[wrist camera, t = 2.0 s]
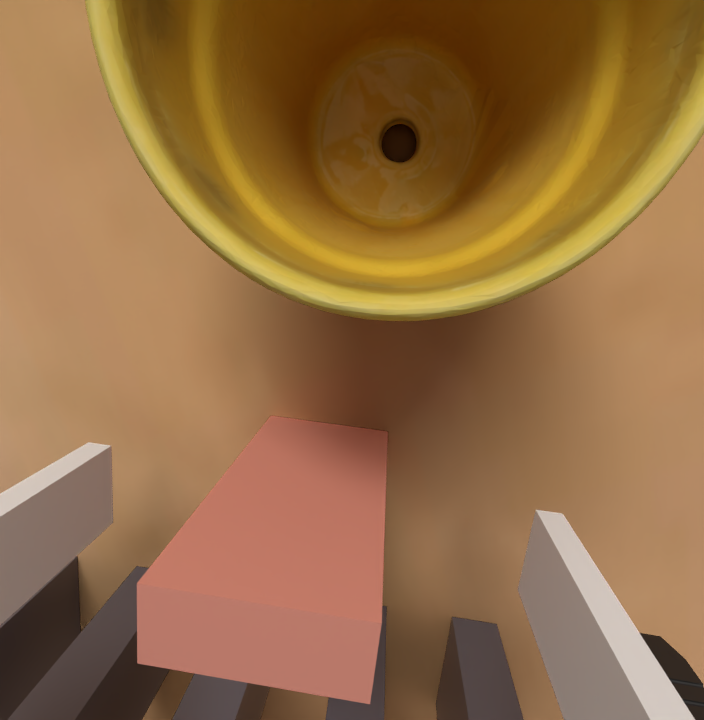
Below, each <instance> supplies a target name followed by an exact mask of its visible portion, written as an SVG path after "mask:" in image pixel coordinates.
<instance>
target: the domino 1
mask: <svg viewBox="0 0 704 720" xmlns="http://www.w3.org/2000/svg"><path fill="white" fill-rule="evenodd" d="M80 633H81V631H80V608H79V584H78V561H77V556H76V557H75V558H74V559H73V560H72V561H70V562H69V563H68V564H67V565H66V566H65V567H64V568H63V569H62V570H61V571H60V572H58V573H57V574H56V575H55V576H54V577H53V578H52V579H51V580H50V581H49V582H47V583H46V584H45V585H44V586H43V587H42V588H41V589H40V590H39V591H38V592H36V593H35V594H34V595H33V596H32V597H31V598H30V599H29V600H28V601H27V602H25V603H24V604H23V605H22V606H21V607H20V608H19V609H18V610H17V611H16V612H14V613H13V614H12V615H11V616H10V617H9V618H8V619H7V620H6V621H5V622H4V623H2V624H1V625H0V720H8V718H9V717H10V716H11V715H12V714H13V712H14V711H15V710H16V709H17V708H18V707H19V705H20V704H21V703H22V702H23V701H24V699H25V698H26V697H27V696H28V695H29V693H30V692H31V691H32V690H33V689H34V688H35V686H36V685H37V684H38V683H39V682H40V680H41V679H42V678H43V677H44V676H45V674H46V673H47V672H48V671H49V670H50V669H51V667H52V666H53V665H54V664H55V663H56V661H57V660H58V659H59V658H60V657H61V655H62V654H63V653H64V652H65V651H66V650H67V648H68V647H69V646H70V645H71V644H72V642H73V641H74V640H75V639H76V638H77V637H78V635H79V634H80Z"/></svg>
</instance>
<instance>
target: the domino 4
mask: <svg viewBox="0 0 704 720" xmlns="http://www.w3.org/2000/svg"><path fill="white" fill-rule="evenodd" d="M269 688H270V687H269V686H263V685H257V684H251V683H246V682H240V681H234V680H229V679H223V678H217V677H212V676H206V675H200V674H194V676H193V678H192V680H191V682H190V684H189V686H188V688H187V690H186V692H185V694H184V696H183V698H182V700H181V702H180V705H179V707H178V709H177V711H176V713H175V715H174V717H173V719H172V720H260V719H261V716H262V712H263V709H264V705H265V702H266V699H267V695H268V692H269Z"/></svg>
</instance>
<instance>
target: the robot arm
mask: <svg viewBox="0 0 704 720" xmlns="http://www.w3.org/2000/svg"><path fill="white" fill-rule="evenodd" d="M112 523H113V495H112V453H111V446H110V445H103V444H96V443H90V442H88V443H87V444H85V445H83V446H81V447H80V448H78V449H76V450H74V451H73V452H71V453H69V454H68V455H66V456H64V457H62V458H61V459H59V460H57V461H56V462H54V463H52V464H50V465H49V466H47V467H45V468H44V469H42V470H40V471H38V472H37V473H35V474H33V475H31V476H30V477H28V478H26V479H25V480H23V481H21V482H19V483H18V484H16V485H14V486H13V487H11V488H9V489H7V490H6V491H4V492H2V493H1V494H0V625H1V624H2V623H4V622H5V621H6V620H7V619H8V618H9V617H10V616H11V615H12V614H13V613H14V612H16V611H17V610H18V609H19V608H20V607H21V606H22V605H23V604H24V603H25V602H27V601H28V600H29V599H30V598H31V597H32V596H33V595H34V594H35V593H36V592H38V591H39V590H40V589H41V588H42V587H43V586H44V585H45V584H46V583H47V582H49V581H50V580H51V579H52V578H53V577H54V576H55V575H56V574H57V573H58V572H60V571H61V570H62V569H63V568H64V567H65V566H66V565H67V564H68V563H69V562H70V561H72V560H73V559H74V558H75V557H76V556H77V555H78V554H79V553H80V552H81V551H83V550H84V549H85V548H86V547H87V546H88V545H89V544H90V543H91V542H92V541H94V540H95V539H96V538H97V537H98V536H99V535H100V534H101V533H102V532H103V531H105V530H106V529H107V528H108V527H109V526H110V525H111V524H112ZM518 592H519V595H520V597H521V600H522V603H523V606H524V609H525V611H526V614H527V617H528V620H529V623H530V625H531V628H532V631H533V634H534V637H535V639H536V642H537V645H538V648H539V651H540V653H541V656H542V659H543V662H544V665H545V667H546V670H547V673H548V676H549V679H550V681H551V684H552V687H553V690H554V693H555V695H556V698H557V701H558V704H559V707H560V709H561V712H562V715H563V718H564V720H704V688H703V683H702V682H701V680H700V679H699V678H698V676H697V675H696V673H695V672H694V671H693V669H692V668H691V667H690V665H689V664H688V662H687V661H686V660H685V658H683V657H682V656H681V655H680V654H679V653H678V652H677V651H676V650H675V649H674V648H672V647H671V646H670V645H669V644H668V643H667V642H666V641H665V640H664V639H663V638H661V637H660V636H654V635H649V634H643V633H639V632H638V630H637V628H636V627H635V625H634V624H633V622H632V621H631V619H630V618H629V616H628V614H627V613H626V611H625V610H624V608H623V607H622V605H621V604H620V602H619V600H618V599H617V597H616V596H615V594H614V593H613V591H612V590H611V588H610V586H609V585H608V583H607V582H606V580H605V579H604V577H603V576H602V574H601V572H600V571H599V569H598V568H597V566H596V565H595V563H594V562H593V560H592V558H591V557H590V555H589V554H588V552H587V551H586V549H585V548H584V546H583V544H582V543H581V541H580V540H579V538H578V537H577V535H576V534H575V532H574V530H573V529H572V527H571V526H570V524H569V523H568V521H567V520H566V518H565V516H564V515H563V514H562V513H555V512H548V511H542V510H536V511H535V515H534V520H533V524H532V529H531V533H530V537H529V542H528V546H527V551H526V555H525V559H524V564H523V568H522V573H521V577H520V581H519V586H518Z"/></svg>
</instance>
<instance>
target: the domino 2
mask: <svg viewBox="0 0 704 720" xmlns="http://www.w3.org/2000/svg"><path fill="white" fill-rule="evenodd" d="M148 569H149V568H145V567H139V566H137V567H136V568H135V569H134V570H133V571H132V572H131V574H130V575H129V576H128V577H127V578H126V580H125V581H124V582H123V583H122V584H121V586H120V587H119V588H118V589H117V590H116V591H115V593H114V594H113V595H112V596H111V597H110V599H109V600H108V601H107V602H106V603H105V604H104V606H103V607H102V608H101V609H100V610H99V612H98V613H97V614H96V615H95V616H94V618H93V619H92V620H91V621H90V622H89V623H88V625H87V626H86V627H85V628H84V629H83V631H82V632H81V633H80V634H79V635H78V637H77V638H76V639H75V640H74V641H73V642H72V644H71V645H70V646H69V647H68V648H67V650H66V651H65V652H64V653H63V654H62V655H61V657H60V658H59V659H58V660H57V661H56V663H55V664H54V665H53V666H52V667H51V669H50V670H49V671H48V672H47V673H46V674H45V676H44V677H43V678H42V679H41V680H40V682H39V683H38V684H37V685H36V686H35V688H34V689H33V690H32V691H31V692H30V693H29V695H28V696H27V697H26V698H25V699H24V701H23V702H22V703H21V704H20V705H19V707H18V708H17V709H16V710H15V711H14V712H13V714H12V715H11V716H10V717H9V718H8V720H142V719H143V717H144V715H145V713H146V711H147V710H148V708H149V706H150V704H151V702H152V700H153V699H154V697H155V695H156V693H157V691H158V690H159V688H160V686H161V684H162V682H163V680H164V679H165V677H166V675H167V673H168V671H169V670H170V669H166V668H161V667H155V666H149V665H144V664H138V663H137V583H138V581H139V580H140V579H141V578H142V576H143V575H144V574H145V573H146V571H147V570H148Z"/></svg>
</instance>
